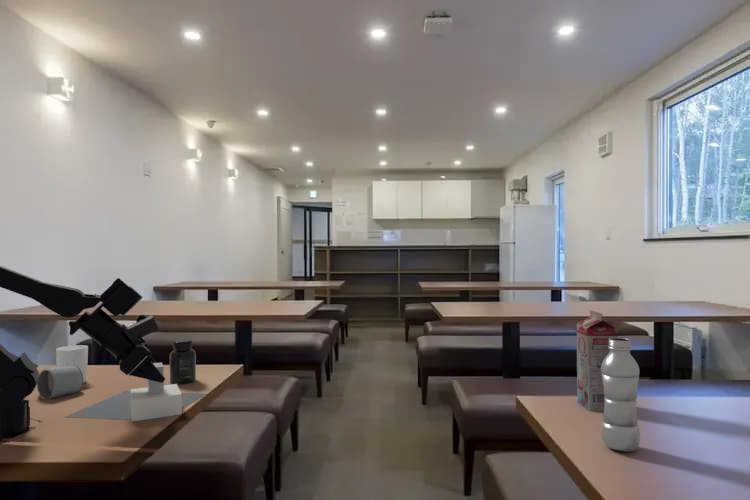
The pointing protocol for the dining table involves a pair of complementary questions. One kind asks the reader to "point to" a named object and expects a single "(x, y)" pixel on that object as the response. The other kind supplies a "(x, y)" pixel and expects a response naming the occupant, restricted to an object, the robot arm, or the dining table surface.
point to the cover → (155, 400)
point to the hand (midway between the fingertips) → (162, 376)
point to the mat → (124, 407)
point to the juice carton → (592, 360)
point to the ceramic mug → (59, 381)
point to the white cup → (73, 357)
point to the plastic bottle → (620, 397)
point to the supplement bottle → (182, 363)
